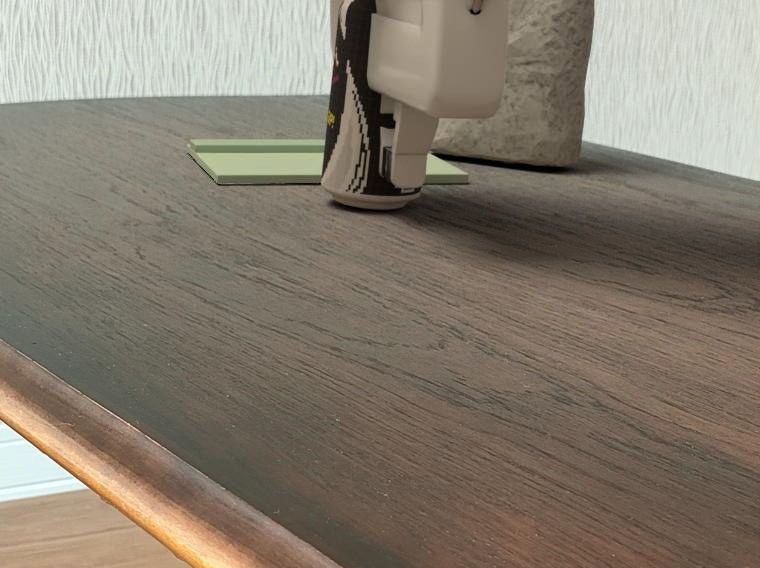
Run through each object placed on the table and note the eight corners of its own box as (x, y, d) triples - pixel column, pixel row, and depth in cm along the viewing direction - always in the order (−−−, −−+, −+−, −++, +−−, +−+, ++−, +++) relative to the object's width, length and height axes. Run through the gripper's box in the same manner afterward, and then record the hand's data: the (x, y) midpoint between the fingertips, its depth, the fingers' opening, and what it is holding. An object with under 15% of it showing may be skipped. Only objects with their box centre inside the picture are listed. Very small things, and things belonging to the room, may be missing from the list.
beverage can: (331, 186, 86) (354, -29, 81) (426, 199, 85) (455, -18, 80) (308, 204, 82) (331, -24, 76) (408, 218, 80) (439, -13, 75)
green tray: (411, 152, 101) (413, 136, 101) (468, 183, 91) (470, 165, 90) (186, 152, 99) (186, 136, 98) (217, 184, 88) (217, 166, 87)
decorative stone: (593, 167, 98) (624, -74, 92) (545, 176, 94) (575, -75, 88) (460, 146, 105) (480, -79, 99) (410, 154, 101) (428, -80, 95)
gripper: (557, -91, 64) (524, 221, 70) (422, -94, 83) (404, 153, 88) (421, -95, 63) (398, 222, 69) (315, -97, 82) (304, 153, 87)
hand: (401, 183), depth 79 cm, fingers closed
